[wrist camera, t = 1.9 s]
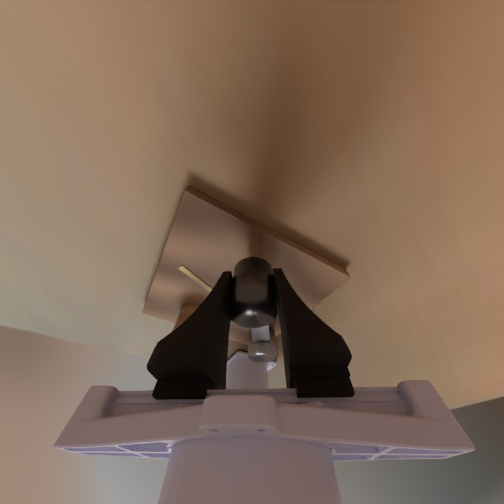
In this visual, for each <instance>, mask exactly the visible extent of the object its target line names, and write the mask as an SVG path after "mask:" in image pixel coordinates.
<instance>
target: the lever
mask: <svg viewBox="0 0 504 504" xmlns="http://www.w3.org/2000/svg"><path fill="white" fill-rule="evenodd" d="M277 315H278V312H277V303H276V295H275V286H274V279H273V269H272V266H271V265H270V263H269V262H267V261H266V260H264V259H262V258H259V257H247V258H244V259H242V260H240V261H239V262H238V263H237V264H236V265H235V268H234V273H233V280H232V287H231V294H230V301H229V308H228V316H229V318H230V319H231V320H232V321H233V322H234V323H235V324H237V325H239V326H242V327H247V328H250V329H249V332H248V358H249V359H250V360H252V361H254V362H260V363H265V362H271V361H273V360H275V359H276V358H277V346H276V336H275V330H274V329H273V328H272V327H270V326H269V324H271V323H272V322H273V321H274V320H275V319H276V318H277Z"/></svg>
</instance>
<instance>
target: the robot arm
mask: <svg viewBox="0 0 504 504" xmlns="http://www.w3.org/2000/svg"><path fill="white" fill-rule="evenodd" d="M273 279H274V286H275V295H276V303H277V312H278V318H279V323H280V329H281V337H282V346H283V356H284V366H285V376H286V386H287V389H268V373H267V371H268V370H269V369H271V368H272V367H274V366H275V365H277V362H276V361H271V362H265V363H260V362H254V361H252V360H250V359H249V358H248V353H246V352H242V351H238V352H237V353H235V354H234V355H233V356H232V357H231V358H230V359H229V360H228V361H227V354H228V340H229V329H230V323H231V319H230V318H229V316H228V308H229V301H230V294H231V287H232V280H233V277H232V272H231V271H224V272H223V273H222V274H221V276H220V278H219V279H218V281H217V283H216V284H215V286H214V287H213V289H212V290H211V292H210V293H209V294H208V296H207V297H206V298H205V300H204V301H203V302H202V303H201V305H200V306H199V307H198V308H197V309H196V310H195V311H194V312H193V313H192V314H191V315H190V316H189V317H188V318H187V319H186V320H185V321H184V322H183V323H182V324H181V325H180V326H178V327H177V328H176V329H175V330H174V331H172V332H171V333H170V334H168V335H167V336H166V337H164V338H163V339H162V340H160V341H159V342H158V343H157V345H156V347H155V348H154V351H153V353H152V355H151V357H150V359H149V362H148V364H147V369H148V371H149V372H150V373H151V374H152V375H153V376H154V377H155V378H156V379H157V383H156V385H155V388H154V390H153V391H119V390H118V389H117V388H115V387H113V386H91V387H90V388H89V390H88V392H87V393H86V395H85V396H84V398H83V400H82V401H81V403H80V404H79V406H78V407H77V409H76V411H75V412H74V414H73V416H72V417H71V419H70V420H69V422H68V423H67V425H66V427H65V428H64V430H63V431H62V433H61V435H60V436H59V438H58V439H57V441H56V443H55V444H54V448H57V449H61V450H65V451H69V452H74V453H77V454H82V455H86V456H122V457H140V458H158V459H169V462H168V466H167V470H166V474H165V478H164V482H163V485H162V489H161V493H160V497H159V501H158V504H342V500H341V496H340V492H339V487H338V483H337V479H336V474H335V471H334V466H333V461H358V460H384V459H386V460H387V459H445V458H448V457H452V456H456V455H460V454H463V453H467V452H471V451H474V450H475V447H474V445H473V444H472V443H471V441H470V440H469V438H468V437H467V436H466V434H465V432H464V431H463V429H462V428H461V426H460V425H459V423H458V422H457V420H456V419H455V418H454V416H453V415H452V413H451V412H450V410H449V409H448V407H447V406H446V404H445V403H444V401H443V400H442V398H441V397H440V395H439V394H438V392H437V391H436V390H435V388H434V387H433V385H432V384H431V382H430V381H428V380H407V381H402V382H400V383H399V384H398V385H397V387H353V386H352V383H351V381H350V378H349V377H350V373H349V370H348V368H347V367H348V365H349V363H350V361H351V358H352V355H351V352H350V350H349V348H348V346H347V344H346V343H345V341H344V339H343V338H342V336H341V335H339V334H338V333H337V332H335V331H334V330H333V329H331V328H330V327H329V326H328V325H326V324H325V323H324V322H323V321H322V320H321V319H320V318H319V317H318V316H316V315H315V314H314V313H313V312H312V311H311V310H310V309H309V308H308V307H307V305H306V304H305V303H304V302H303V301H302V300H301V298H300V297H299V296H298V295H297V293H296V292H295V290H294V289H293V288H292V286H291V284H290V283H289V281H288V280H287V278H286V276H285V274H284V272H283V270H282V268H273Z"/></svg>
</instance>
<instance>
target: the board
mask: <svg viewBox="0 0 504 504" xmlns="http://www.w3.org/2000/svg"><path fill="white" fill-rule="evenodd" d="M247 257H259V258H262V259H264V260H266V261H267V262H269V263H270V265H271V266H272V269H273V268H282V270H283V272H284V274H285V276H286V278H287V280H288V281H289V283H290V284H291V286H292V288H293V289H294V290H295V292H296V293H297V295H298V296H299V297H300V298H301V300H302V301H303V302H304V303H305V304H306V305H307V307H308V308H309V309H312V308H313V307H314V306H315V305H317V304H318V303H319V302H320V301H322V300H323V299H324V298H325V297H327V296H328V295H329V294H330V293H331V292H333V291H334V290H335V289H336V288H338V287H339V286H340V285H341V284H343V283H344V282H345V281H346V280H348V279H349V278H350V275H349V274H348V272H347V271H346V269H344V268H342V267H340V266H338V265H336V264H335V263H333V262H331V261H329V260H327V259H325V258H323V257H321V256H320V255H318V254H316V253H314V252H312V251H310V250H308V249H306V248H304V247H303V246H301V245H299V244H297V243H295V242H293V241H291V240H289V239H288V238H286V237H284V236H282V235H280V234H278V233H276V232H274V231H273V230H271V229H269V228H267V227H265V226H263V225H261V224H259V223H258V222H256V221H254V220H252V219H250V218H248V217H246V216H244V215H243V214H241V213H239V212H237V211H235V210H233V209H231V208H229V207H228V206H226V205H224V204H222V203H220V202H218V201H216V200H214V199H213V198H211V197H209V196H207V195H205V194H203V193H201V192H199V191H198V190H196V189H194V188H192V187H190V186H189V187H188V188H186V189H185V190H184V193H183V196H182V199H181V202H180V205H179V208H178V210H177V213H176V216H175V219H174V222H173V225H172V228H171V231H170V234H169V236H168V239H167V242H166V245H165V248H164V251H163V254H162V257H161V260H160V262H159V265H158V268H157V271H156V274H155V277H154V280H153V283H152V285H151V288H150V291H149V294H148V297H147V300H146V303H145V306H144V309H143V311H142V313H143V314H147V315H150V316H153V317H157V318H160V319H163V320H166V321H170V322H173V323H176V321H177V318H178V316H179V313H180V311H181V309H182V307H184V306H185V305H189V304H198V305H201V303H202V302H203V301H204V300H205V298H206V297H207V296H208V294H209V293H210V292H211V290H212V289H213V287H214V286H215V284H216V283H217V281H218V279H219V278H220V276H221V274H222V273H223V272H224V271H231V272H232V277H233V273H234V268H235V265H236V264H237V263H238V262H239V261H240V260H242V259H244V258H247ZM269 326H270V327H272V328H273V329H274V330H275V336H276V337H277V336H278V335H280V334H281V329H280V323H279V318H278V315H277V318H276V319H275V320H274V321H273V322H272V323H271V324H269ZM249 329H250V328H247V327H242V326H239V325H237V324H235V323H234V322H233V321H232V320H231V323H230V329H229V340H232V341H235V342H239V343H242V344H245V345H248V332H249Z"/></svg>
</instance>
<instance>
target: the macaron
mask: <svg viewBox="0 0 504 504" xmlns="http://www.w3.org/2000/svg"><path fill="white" fill-rule="evenodd" d="M199 306H200V305H198V304H189V305H185V306H184V307H182V309H181V311H180V313H179V316H178V318H177V321H176V323H175V326H174V328H173V331H174V330H175V329H176V328H177V327H178V326H180V325H181V324H182V323H183V322H184V321H185V320H186V319H187V318H188V317H189V316H190V315H191V314H192V313H193V312H194V311H195V310H196V309H197V308H198V307H199Z"/></svg>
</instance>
